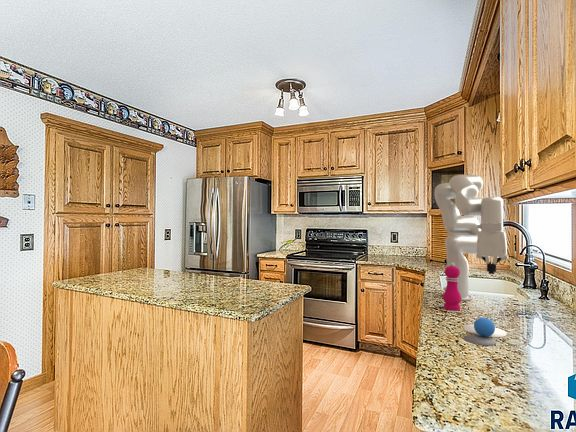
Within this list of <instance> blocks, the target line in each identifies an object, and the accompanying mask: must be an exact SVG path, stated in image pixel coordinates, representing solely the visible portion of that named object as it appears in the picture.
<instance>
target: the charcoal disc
mask: <svg viewBox="0 0 576 432" xmlns="http://www.w3.org/2000/svg"><path fill="white" fill-rule="evenodd" d="M463 340H464V341H465V342H467V343H470V344H474V345H477V346H485V347H492V346H496V345H497V341H495V340H494V339H492V338H491V337H484V336H480V335H476V334H466V335H464V336H463Z"/></svg>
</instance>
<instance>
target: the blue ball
mask: <svg viewBox="0 0 576 432" xmlns="http://www.w3.org/2000/svg"><path fill="white" fill-rule="evenodd" d="M473 324H474V329H475V331H476V332H477V333H478V334H479V336H480V335H481V336H484V337H488V336H491V335H492V334H493V333H494V331H495V328H496V325H495V324H494V321H492V319H491V320H490V318H486V317H478V318H477V319H476V320H474V323H473ZM488 338H489V337H488Z"/></svg>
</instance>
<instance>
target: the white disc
mask: <svg viewBox="0 0 576 432" xmlns="http://www.w3.org/2000/svg"><path fill="white" fill-rule="evenodd" d="M462 329H463V330H464V331H466V332H468V333H470V334H472V335H479V334H478V333H477V332H476V331H475V329H474V323H469V324H465V325H463V326H462ZM507 334H508V333H507V332H506V331H505V330H503V329H501V328H498V327H495V331H494V333H493V334H492V335H491V336H488V338H504V337H507ZM479 336H481V335H479Z"/></svg>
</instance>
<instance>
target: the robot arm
mask: <svg viewBox="0 0 576 432" xmlns="http://www.w3.org/2000/svg"><path fill="white" fill-rule="evenodd" d="M483 186H484V182H483V179H482V177H481V176H479V175H477V174H455V175H453V176H452V177H451V178H450V179H449V181H448V182H444V183H439V184H438V185H436V187H434V199H435V202H436V206H437V207H438V209H439V210H440V213H441V218H442V222H443V227H444V230H445V231H446V233H448V234H449V235H447V236H446V237H445V239H444V245H445V252H446V267H448V266H450V263H454V264H455V265H454V266H455V267H457V268H458V269H459V270H460V275H459V276H458V278H459V279H458V280H459V281H458V283H457V287H458V291H459V293H460V295H461V302H462V301H466V302H467V301H472V300H473V296H471V295H470V294H469V274H470V273H469V271H470V269H469V268H470V267H469V261H468V259H467V258H466V256H465V255H464V254H471V255H473V254H474V255H476V258H477V259H481V260H483V262H485V263H486V272H488V274H489V275H494V274H495V273H497V264H498V263H499V262H501V261H507V260H508V259H509V258H508V246H507V245H508V243H507V242H508V241H507V236H506V232H505V231H504V200H503V198H501V197H497V196H489V197H478V195H479V192H480V191H481V190H482V188H483ZM452 200H454V201H452ZM476 216H479V217H480V223H479V220H478V219H477V218H476ZM490 257H493V261H491V258H490ZM446 287H447V285H446V286H445V287H443V288H442V291H445V290H446Z"/></svg>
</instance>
